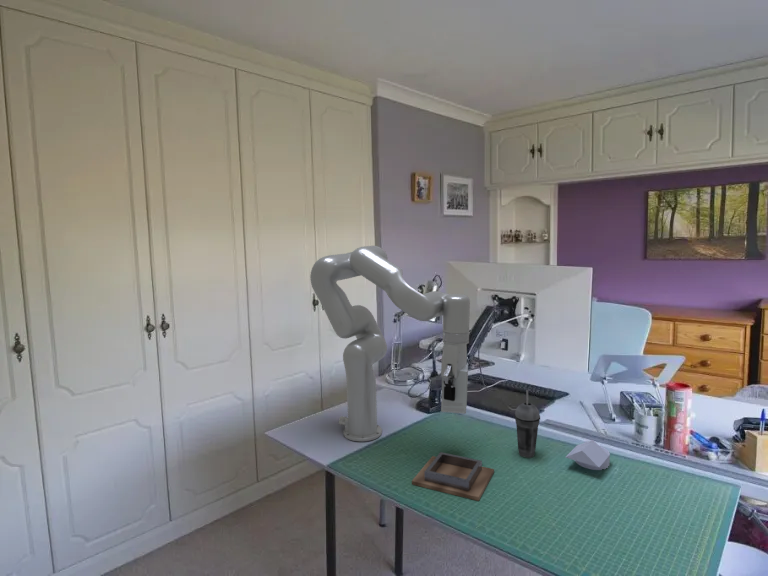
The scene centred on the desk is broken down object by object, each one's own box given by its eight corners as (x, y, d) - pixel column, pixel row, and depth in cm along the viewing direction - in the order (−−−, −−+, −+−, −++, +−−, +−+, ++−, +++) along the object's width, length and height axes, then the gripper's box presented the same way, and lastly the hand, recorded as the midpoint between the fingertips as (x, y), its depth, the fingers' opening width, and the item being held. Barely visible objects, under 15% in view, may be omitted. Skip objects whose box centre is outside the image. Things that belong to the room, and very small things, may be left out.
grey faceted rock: (598, 479, 126) (613, 460, 136) (599, 455, 126) (614, 438, 135) (564, 468, 132) (581, 451, 142) (565, 445, 131) (581, 429, 141)
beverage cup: (541, 450, 143) (542, 386, 140) (537, 462, 136) (539, 394, 134) (516, 446, 146) (517, 383, 143) (511, 457, 139) (512, 391, 137)
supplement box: (466, 414, 137) (467, 371, 135) (440, 412, 138) (441, 370, 136) (467, 404, 144) (468, 364, 142) (442, 402, 145) (443, 362, 143)
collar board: (411, 484, 126) (411, 471, 125) (432, 459, 139) (432, 447, 139) (478, 501, 118) (478, 487, 117) (494, 472, 131) (494, 460, 130)
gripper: (453, 329, 147) (452, 383, 150) (432, 342, 132) (431, 402, 134) (476, 332, 144) (475, 387, 146) (458, 345, 129) (457, 407, 131)
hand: (454, 394), depth 140 cm, fingers closed on supplement box, 8 cm apart
